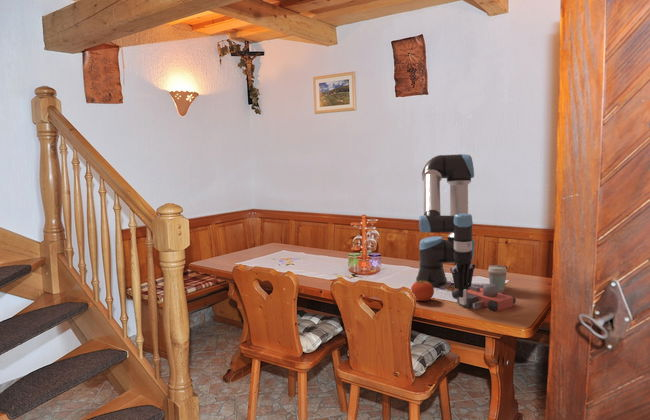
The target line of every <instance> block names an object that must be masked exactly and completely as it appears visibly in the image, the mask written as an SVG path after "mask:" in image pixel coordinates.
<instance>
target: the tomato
mask: <svg viewBox="0 0 650 420" xmlns="http://www.w3.org/2000/svg"><path fill="white" fill-rule="evenodd" d="M411 290H412V292H413V293H414V294H415V296H416V301H420V302H425V301H426V302H427V301H428V300H430V299H432V298H433V296H434V294H435V287H433V286H432V284H431V283H429V282H427V281H423V279H422V280H421V281H415V282H413V284H412V285H411V288H410V291H411Z"/></svg>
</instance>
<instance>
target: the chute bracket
mask: <svg viewBox="0 0 650 420" xmlns="http://www.w3.org/2000/svg"><path fill="white" fill-rule="evenodd" d="M456 304H457V305H459V297H458V298H457V299H456ZM483 307H484V301H483V300H482V301H479V302H475V303H473V307H472V309H473V310H478V309H481V308H483Z"/></svg>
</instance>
